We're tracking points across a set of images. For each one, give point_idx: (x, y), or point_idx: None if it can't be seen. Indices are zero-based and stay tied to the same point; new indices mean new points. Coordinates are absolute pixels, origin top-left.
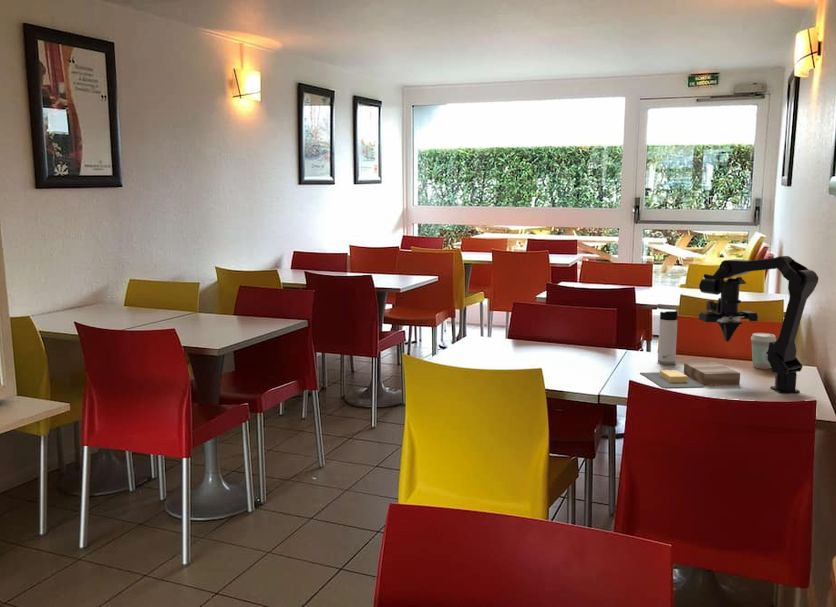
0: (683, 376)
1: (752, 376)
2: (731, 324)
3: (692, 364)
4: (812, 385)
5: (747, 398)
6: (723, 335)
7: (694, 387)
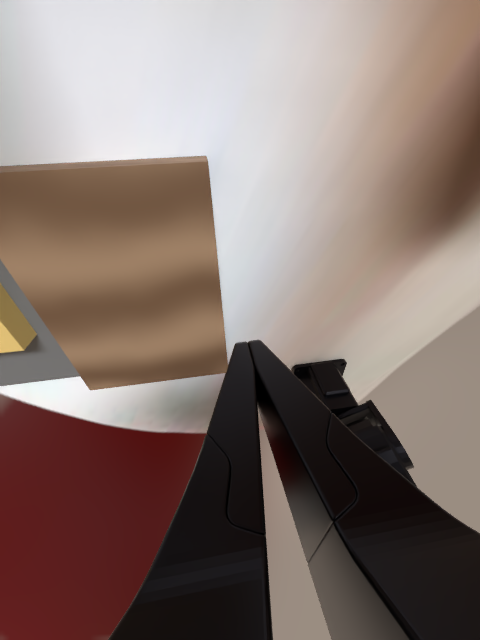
0: (4, 352)
1: (344, 227)
2: (342, 629)
3: (19, 229)
4: (426, 333)
5: (192, 428)
6: (222, 384)
7: (67, 376)
